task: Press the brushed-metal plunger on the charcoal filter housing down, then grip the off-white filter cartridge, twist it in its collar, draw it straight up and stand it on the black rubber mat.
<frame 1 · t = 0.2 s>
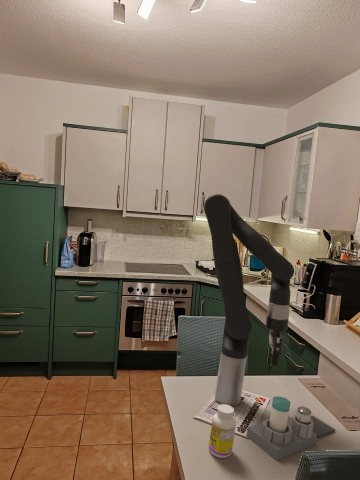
hand: (272, 360, 133), 18 cm above the table, tool pointing down, fingers open, 8 cm apart
cartridge: (276, 435, 112), point 3 cm above the table, touching housing
mat: (314, 427, 125), on the table
plunger: (303, 417, 115), point 8 cm above the table, slide at 0.0 cm
supplement bottle: (219, 452, 106), on the table
housing: (281, 440, 115), on the table
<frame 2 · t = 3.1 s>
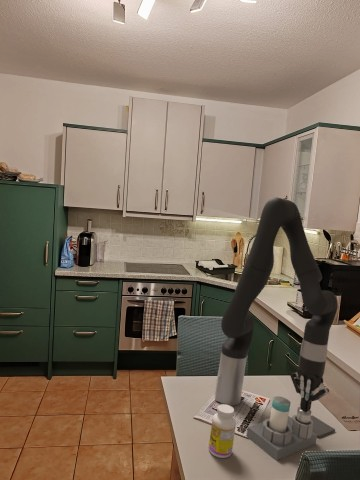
hand: (304, 410, 115), 10 cm above the table, tool pointing down, fingers closed
plunger: (303, 417, 115), point 8 cm above the table, slide at 0.0 cm, touching gripper
everything else where it was.
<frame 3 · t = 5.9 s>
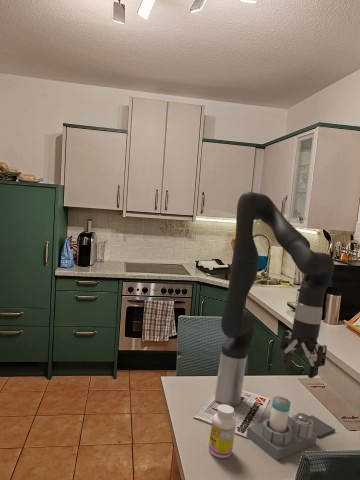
hand: (298, 371, 112), 23 cm above the table, tool pointing down, fingers open, 8 cm apart
plunger: (302, 424, 115), point 6 cm above the table, slide at 2.1 cm
everything else where it was.
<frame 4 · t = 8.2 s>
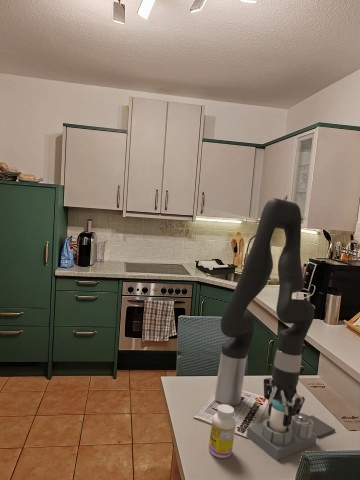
hand: (278, 420, 112), 8 cm above the table, tool pointing down, fingers closed on cartridge, 5 cm apart
cartridge: (276, 435, 112), point 3 cm above the table, touching gripper, housing
everything else where it was.
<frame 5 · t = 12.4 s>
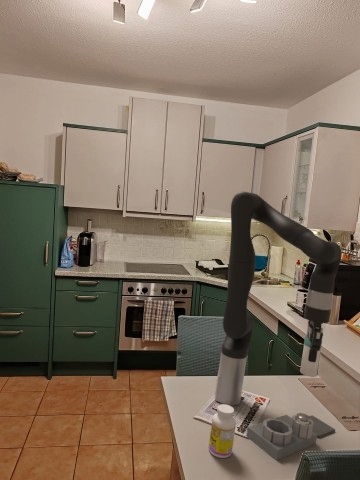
hand: (310, 358, 117), 26 cm above the table, tool pointing down, fingers closed on cartridge, 5 cm apart
cartridge: (308, 373, 117), point 21 cm above the table, touching gripper
everything else where it was.
when the fingers open (8 cm above the table, at t = 16.9 s): cartridge drops 2 cm, resting on mat.
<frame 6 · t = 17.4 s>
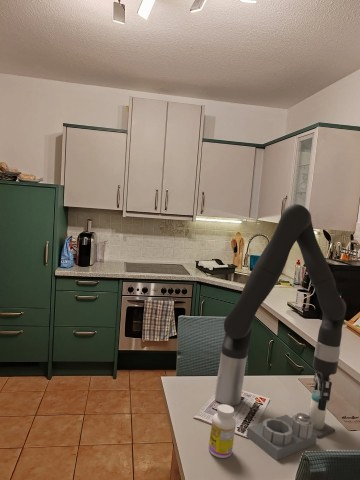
hand: (318, 403, 124), 8 cm above the table, tool pointing down, fingers open, 8 cm apart
cartridge: (315, 425, 125), point 1 cm above the table, touching mat
everything else where it was.
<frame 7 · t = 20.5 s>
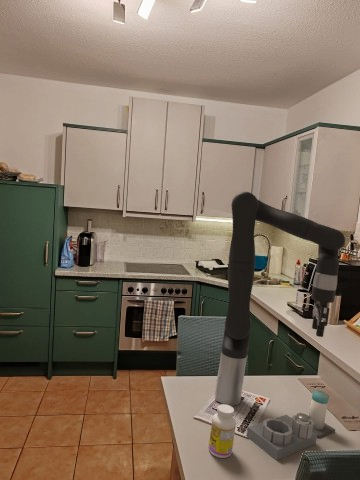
hand: (317, 332, 130), 30 cm above the table, tool pointing down, fingers open, 8 cm apart
nothing on the table moved.
at the end: plunger slide at 2.1 cm; cartridge inside the target area on the mat (0.2 cm from its centre), point 0.8 cm above the mat's base; cartridge tilted 0° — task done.
